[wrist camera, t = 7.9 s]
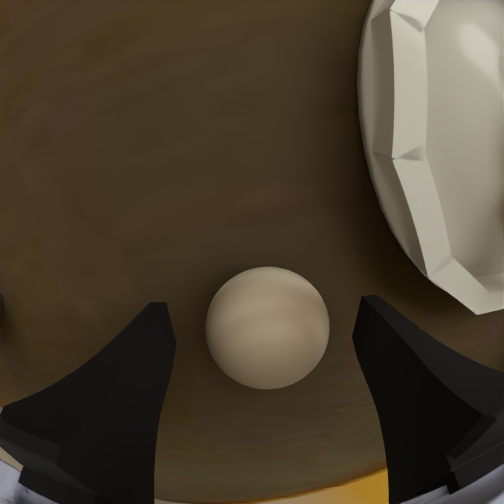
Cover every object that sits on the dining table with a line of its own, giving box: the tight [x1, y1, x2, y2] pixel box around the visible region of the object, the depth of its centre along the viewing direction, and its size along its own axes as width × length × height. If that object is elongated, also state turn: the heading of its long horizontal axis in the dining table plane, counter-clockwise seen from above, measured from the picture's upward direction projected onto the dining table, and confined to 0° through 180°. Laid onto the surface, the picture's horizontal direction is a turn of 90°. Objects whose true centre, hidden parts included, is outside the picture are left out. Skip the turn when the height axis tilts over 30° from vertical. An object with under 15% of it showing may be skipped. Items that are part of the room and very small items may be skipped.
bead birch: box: [205, 267, 330, 389], centre depth 10 cm, size 4×4×4 cm
